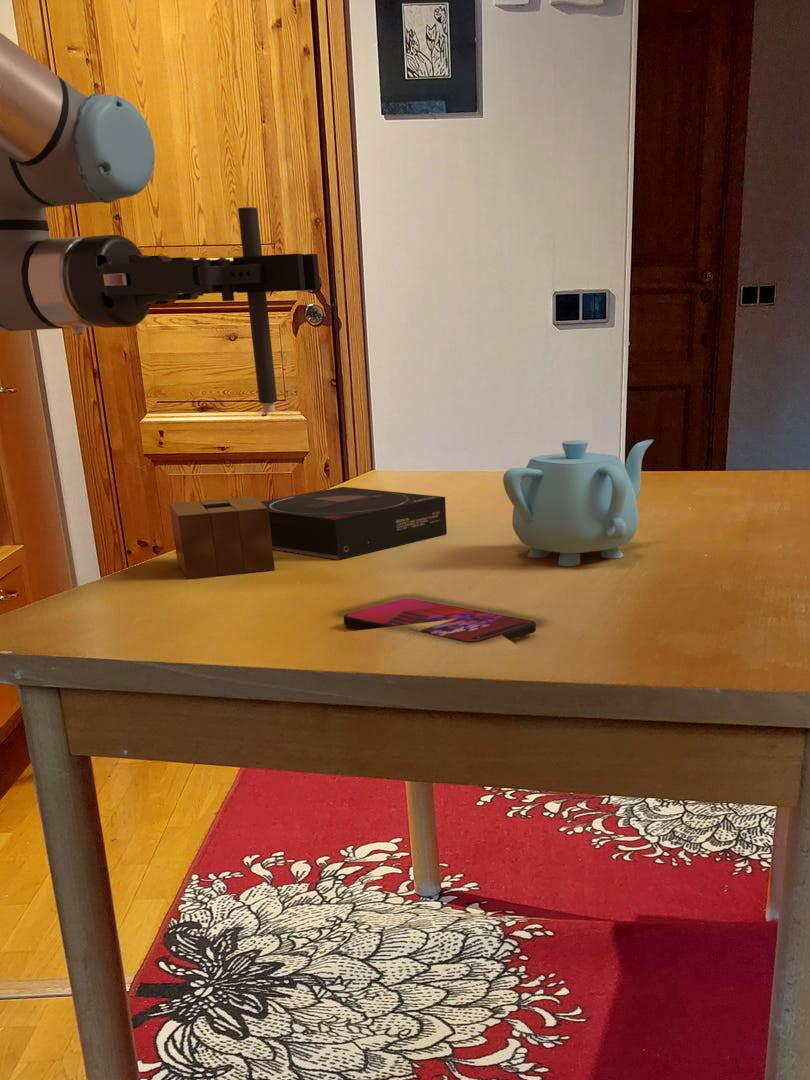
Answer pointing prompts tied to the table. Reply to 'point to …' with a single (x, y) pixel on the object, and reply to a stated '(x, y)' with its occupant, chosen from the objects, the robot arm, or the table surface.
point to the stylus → (258, 313)
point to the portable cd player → (353, 521)
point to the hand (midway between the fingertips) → (308, 272)
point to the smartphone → (463, 628)
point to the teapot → (576, 502)
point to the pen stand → (222, 536)
